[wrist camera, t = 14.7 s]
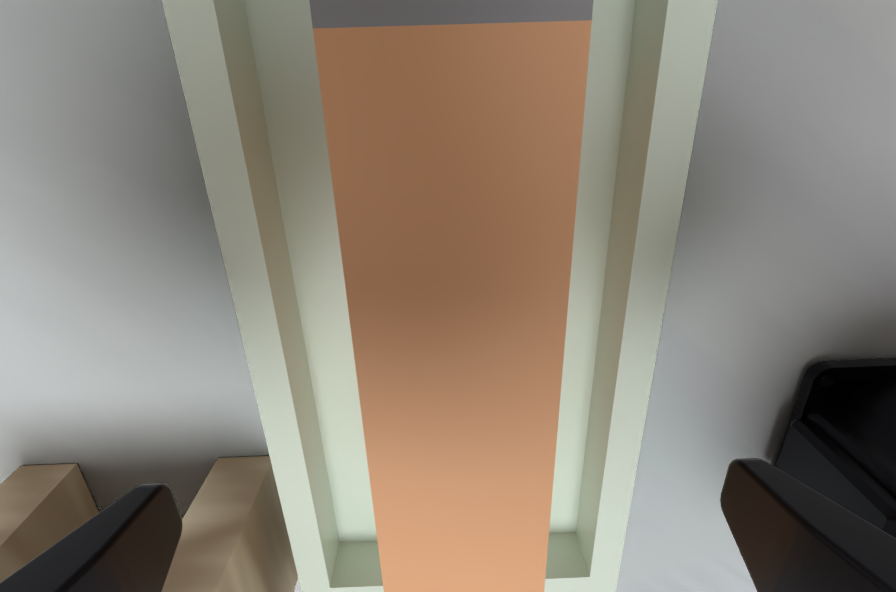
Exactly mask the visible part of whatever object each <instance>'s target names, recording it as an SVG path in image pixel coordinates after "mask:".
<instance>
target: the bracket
mask: <svg viewBox="0 0 896 592" xmlns="http://www.w3.org/2000/svg"><path fill="white" fill-rule="evenodd" d="M98 513H99V511H98V509H97V507H96V504H95V502H94V500H93V498H92V496H91V493H90V491H89V489H88V487H87V485H86V482H85V480H84V478H83V476H82V474H81V471H80V469H79V467H78V465H77V464H54V465H29V466H20V467H19V468H18V469H17V470H16V471H14V472H13V473H12V474H11V475H10V476H9V477H8V478H7V479H6V480H5V481H4V482H3V483H2V484H1V485H0V582H2V581H3V580H5V579H6V578H7V577H9V576H10V575H12V574H13V573H14V572H16V571H17V570H19V569H20V568H22V567H23V566H24V565H26V564H27V563H29V562H30V561H31V560H33V559H34V558H36V557H37V556H39V555H40V554H41V553H43V552H44V551H46V550H47V549H48V548H50V547H51V546H53V545H54V544H55V543H57V542H58V541H60V540H61V539H63V538H64V537H65V536H67V535H68V534H70V533H71V532H72V531H74V530H75V529H77V528H78V527H80V526H81V525H82V524H84V523H85V522H87V521H88V520H89V519H91V518H92V517H94V516H95V515H96V514H98ZM182 524H183V526H182V534H181V537H180V540H179V543H178V546H177V549H176V552H175V555H174V558H173V561H172V564H171V566H170V569H169V572H168V575H167V578H166V581H165V584H164V587H163V590H162V592H294V589H295V585H296V582H297V578H298V574H297V570H296V565H295V561H294V557H293V553H292V549H291V544H290V540H289V536H288V532H287V528H286V523H285V519H284V515H283V511H282V506H281V502H280V498H279V494H278V490H277V485H276V481H275V477H274V473H273V468H272V464H271V460H270V456H255V457H230V458H217V460H216V462H215V463H214V465H213V467H212V469H211V470H210V472H209V474H208V476H207V477H206V479H205V481H204V483H203V484H202V486H201V488H200V490H199V491H198V493H197V495H196V496H195V498H194V500H193V502H192V503H191V505H190V507H189V509H188V510H187V512H186V514H185V516H184V517H183V519H182Z"/></svg>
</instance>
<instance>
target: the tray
mask: <svg viewBox="0 0 896 592" xmlns="http://www.w3.org/2000/svg"><path fill="white" fill-rule="evenodd" d="M717 3H718V0H593V12H592V24H591V36H590V48H589V60H588V72H587V84H586V96H585V108H584V120H583V132H582V144H581V156H580V168H579V180H578V192H577V204H576V216H575V228H574V240H573V252H572V264H571V276H570V288H569V300H568V312H567V324H566V336H565V348H564V360H563V372H562V384H561V396H560V408H559V420H558V432H557V444H556V456H555V468H554V480H553V492H552V504H551V516H550V528H549V540H548V552H547V564H546V576H545V588H544V592H616V587H617V581H618V575H619V569H620V564H621V558H622V552H623V546H624V541H625V535H626V529H627V523H628V517H629V512H630V506H631V500H632V494H633V489H634V483H635V477H636V471H637V465H638V460H639V454H640V448H641V442H642V436H643V431H644V425H645V419H646V413H647V408H648V402H649V396H650V390H651V384H652V379H653V373H654V367H655V361H656V356H657V350H658V344H659V338H660V332H661V327H662V321H663V315H664V309H665V304H666V298H667V292H668V286H669V280H670V275H671V269H672V263H673V257H674V252H675V246H676V240H677V234H678V228H679V223H680V217H681V211H682V205H683V200H684V194H685V188H686V182H687V176H688V171H689V165H690V159H691V153H692V148H693V142H694V136H695V130H696V124H697V119H698V113H699V107H700V101H701V96H702V90H703V84H704V78H705V72H706V67H707V61H708V55H709V49H710V44H711V38H712V32H713V26H714V20H715V15H716V9H717ZM162 4H163V9H164V13H165V17H166V21H167V25H168V30H169V34H170V38H171V42H172V46H173V51H174V55H175V59H176V63H177V68H178V72H179V76H180V80H181V84H182V89H183V93H184V97H185V101H186V106H187V110H188V114H189V118H190V122H191V127H192V131H193V135H194V139H195V144H196V148H197V152H198V156H199V160H200V165H201V169H202V173H203V177H204V182H205V186H206V190H207V194H208V198H209V203H210V207H211V211H212V215H213V219H214V224H215V228H216V232H217V236H218V241H219V245H220V249H221V253H222V257H223V262H224V266H225V270H226V274H227V279H228V283H229V287H230V291H231V295H232V300H233V304H234V308H235V312H236V317H237V321H238V325H239V329H240V333H241V338H242V342H243V346H244V350H245V355H246V359H247V363H248V367H249V371H250V376H251V380H252V384H253V388H254V392H255V397H256V401H257V405H258V409H259V414H260V418H261V422H262V426H263V430H264V435H265V439H266V443H267V447H268V452H269V456H270V460H271V464H272V468H273V473H274V477H275V481H276V485H277V490H278V494H279V498H280V502H281V506H282V511H283V515H284V519H285V523H286V528H287V532H288V536H289V540H290V544H291V549H292V553H293V557H294V561H295V565H296V570H297V574H298V578H299V582H300V587H301V591H302V592H384V589H383V581H382V574H381V566H380V558H379V550H378V542H377V534H376V526H375V518H374V510H373V502H372V494H371V486H370V478H369V470H368V463H367V455H366V447H365V439H364V431H363V423H362V415H361V407H360V399H359V391H358V383H357V375H356V367H355V359H354V351H353V344H352V336H351V328H350V320H349V312H348V304H347V296H346V288H345V280H344V272H343V264H342V256H341V248H340V240H339V233H338V225H337V217H336V209H335V201H334V193H333V185H332V177H331V169H330V161H329V153H328V145H327V137H326V129H325V122H324V114H323V106H322V98H321V90H320V82H319V74H318V66H317V58H316V50H315V42H314V34H313V26H312V18H311V11H310V3H309V0H162Z"/></svg>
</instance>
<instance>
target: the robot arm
mask: <svg viewBox="0 0 896 592" xmlns="http://www.w3.org/2000/svg"><path fill="white" fill-rule="evenodd" d="M823 377H824V378H823ZM822 378H823V379H822ZM720 502H721V507H722V511H723V514H724V516H725V518H726V521H727V523H728V525H729V527H730V530H731V532H732V534H733V537H734V539H735V541H736V544H737V546H738V548H739V550H740V553H741V555H742V557H743V560H744V562H745V564H746V567H747V569H748V571H749V573H750V576H751V578H752V580H753V583H754V585H755V587H756V590H757V592H896V358H892V359H866V360H840V361H822V362H818V363H816V364H814V365H812V366H811V367H810V368H809V369H808V370H807V371H806V373H805V375H804V378H803V381H802V384H801V387H800V391H799V394H798V397H797V400H796V403H795V406H794V409H793V412H792V415H791V418H790V421H789V424H788V427H787V430H786V433H785V436H784V439H783V442H782V446H781V449H780V452H779V455H778V458H777V461H776V464H775V467H774V466H772V465H771V464H769V463H767V462H766V461H764V460H762V459H758V458H745V459H735V460H733V461H732V462H731V463H730V464H729V467H728V471H727V474H726V478H725V481H724V485H723V489H722V492H721V498H720ZM182 526H183V524H182V517H181V515H180V512H179V509H178V506H177V504H176V501H175V498H174V495H173V492H172V490H171V488H170V487H169V486H168V485H167V484H164V483H155V484H142V485H139V486H136V487H135V488H133V489H132V490H130V491H129V492H128V493H126V494H125V495H123V496H122V497H121V498H119V499H118V500H116V501H115V502H113V503H112V504H111V505H109V506H108V507H106V508H105V509H104V510H102V511H101V512H99V513H98V514H96V515H95V516H94V517H92V518H91V519H89V520H88V521H87V522H85V523H84V524H82V525H81V526H80V527H78V528H77V529H75V530H74V531H72V532H71V533H70V534H68V535H67V536H65V537H64V538H63V539H61V540H60V541H58V542H57V543H55V544H54V545H53V546H51V547H50V548H48V549H47V550H46V551H44V552H43V553H41V554H40V555H39V556H37V557H36V558H34V559H33V560H31V561H30V562H29V563H27V564H26V565H24V566H23V567H22V568H20V569H19V570H17V571H16V572H14V573H13V574H12V575H10V576H9V577H7V578H6V579H5V580H3V581H2V582H0V592H162V590H163V587H164V584H165V581H166V578H167V575H168V572H169V569H170V566H171V564H172V561H173V558H174V555H175V552H176V549H177V546H178V543H179V540H180V537H181V534H182Z"/></svg>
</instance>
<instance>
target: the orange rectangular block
mask: <svg viewBox="0 0 896 592" xmlns="http://www.w3.org/2000/svg"><path fill="white" fill-rule="evenodd" d="M309 3H310V11H311V18H312V26H313V34H314V42H315V50H316V58H317V66H318V74H319V82H320V90H321V98H322V106H323V114H324V122H325V129H326V137H327V145H328V153H329V161H330V169H331V177H332V185H333V193H334V201H335V209H336V217H337V225H338V233H339V240H340V248H341V256H342V264H343V272H344V280H345V288H346V296H347V304H348V312H349V320H350V328H351V336H352V344H353V351H354V359H355V367H356V375H357V383H358V391H359V399H360V407H361V415H362V423H363V431H364V439H365V447H366V455H367V463H368V470H369V478H370V486H371V494H372V502H373V510H374V518H375V526H376V534H377V542H378V550H379V558H380V566H381V574H382V581H383V589H384V592H544V588H545V576H546V564H547V552H548V540H549V528H550V516H551V504H552V492H553V480H554V468H555V456H556V444H557V432H558V420H559V408H560V396H561V384H562V372H563V360H564V348H565V336H566V324H567V312H568V300H569V288H570V276H571V264H572V252H573V240H574V228H575V216H576V204H577V192H578V180H579V168H580V156H581V144H582V132H583V120H584V108H585V96H586V84H587V72H588V60H589V48H590V36H591V24H592V12H593V0H309Z"/></svg>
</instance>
